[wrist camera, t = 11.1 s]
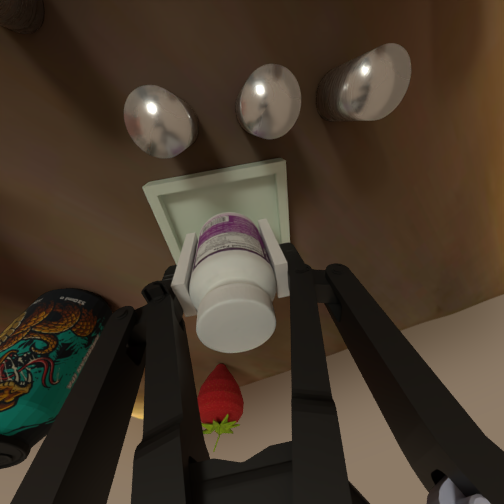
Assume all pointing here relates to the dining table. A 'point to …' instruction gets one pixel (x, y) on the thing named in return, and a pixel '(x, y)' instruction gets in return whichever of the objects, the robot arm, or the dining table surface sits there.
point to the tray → (221, 199)
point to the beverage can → (44, 364)
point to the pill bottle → (232, 285)
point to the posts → (252, 93)
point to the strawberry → (220, 402)
